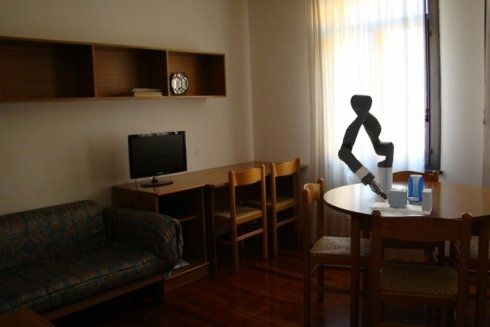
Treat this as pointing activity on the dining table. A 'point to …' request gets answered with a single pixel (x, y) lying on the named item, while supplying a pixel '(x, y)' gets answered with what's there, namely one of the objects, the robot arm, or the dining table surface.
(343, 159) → the robot arm
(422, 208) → the board
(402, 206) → the gauge carriage
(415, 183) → the beer can
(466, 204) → the dining table surface
